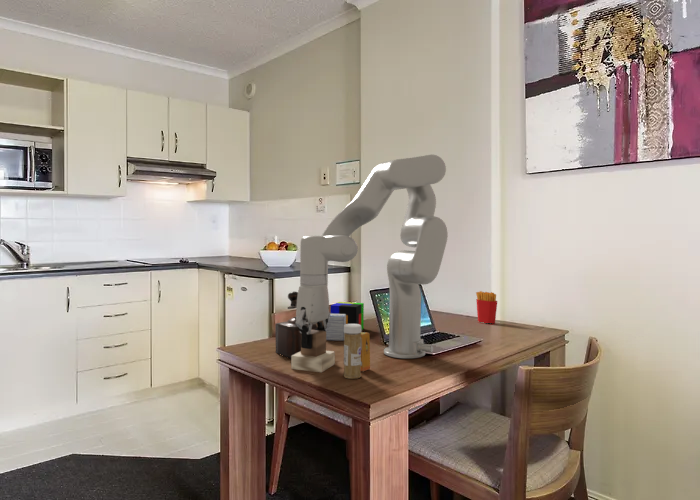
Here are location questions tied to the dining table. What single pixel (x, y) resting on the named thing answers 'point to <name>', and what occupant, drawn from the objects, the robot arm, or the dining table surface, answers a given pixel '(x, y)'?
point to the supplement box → (365, 351)
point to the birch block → (313, 361)
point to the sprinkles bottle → (352, 351)
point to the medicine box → (336, 327)
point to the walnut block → (316, 344)
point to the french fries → (486, 307)
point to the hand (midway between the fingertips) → (313, 345)
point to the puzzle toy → (350, 312)
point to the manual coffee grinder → (289, 332)
